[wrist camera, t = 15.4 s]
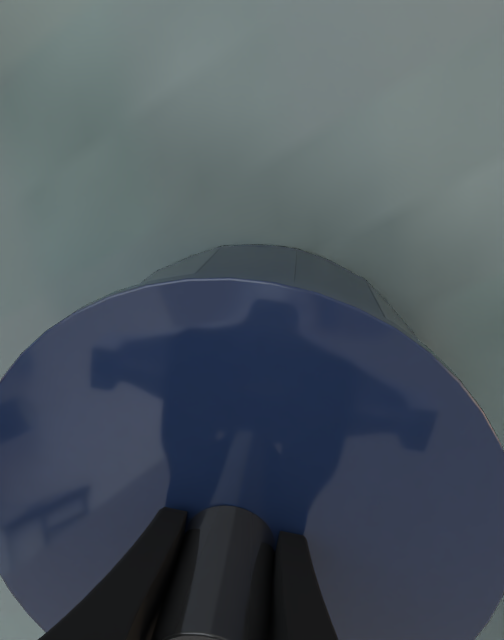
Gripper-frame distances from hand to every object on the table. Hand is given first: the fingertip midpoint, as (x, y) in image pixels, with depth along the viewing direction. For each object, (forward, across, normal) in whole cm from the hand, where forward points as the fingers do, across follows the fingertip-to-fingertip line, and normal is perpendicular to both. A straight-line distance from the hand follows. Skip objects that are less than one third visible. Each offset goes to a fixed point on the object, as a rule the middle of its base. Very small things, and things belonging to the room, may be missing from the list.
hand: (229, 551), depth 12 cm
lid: (+1, 0, 0) cm, 1 cm away
